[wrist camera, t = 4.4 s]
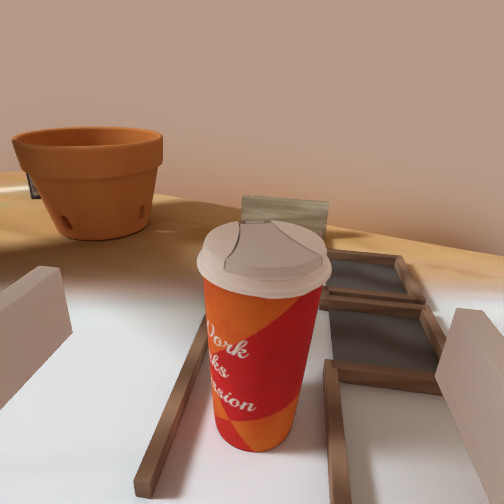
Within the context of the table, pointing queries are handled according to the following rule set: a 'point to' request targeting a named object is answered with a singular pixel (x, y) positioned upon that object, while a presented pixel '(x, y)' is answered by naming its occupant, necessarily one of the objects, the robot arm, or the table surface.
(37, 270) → the robot arm
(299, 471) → the table surface
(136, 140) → the flower pot
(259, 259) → the coffee cup
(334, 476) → the channel
